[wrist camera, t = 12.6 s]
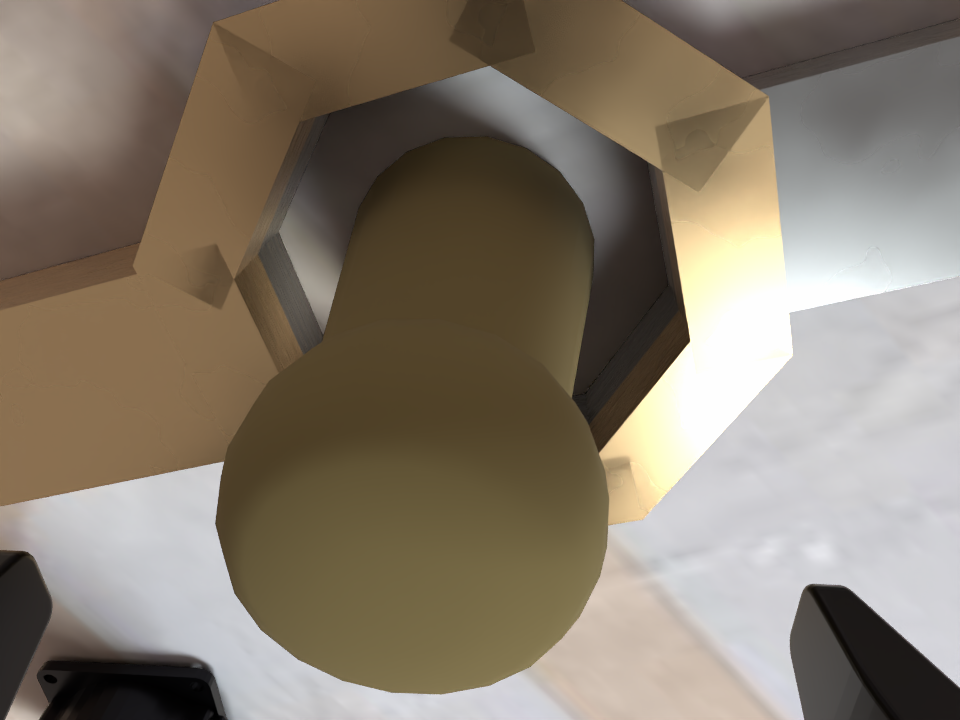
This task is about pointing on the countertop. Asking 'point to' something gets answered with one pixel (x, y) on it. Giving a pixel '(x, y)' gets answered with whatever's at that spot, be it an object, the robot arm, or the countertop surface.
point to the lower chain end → (803, 186)
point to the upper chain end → (260, 186)
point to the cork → (430, 437)
